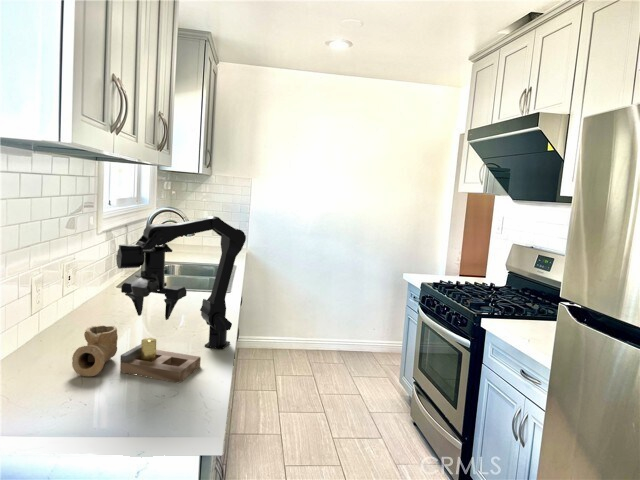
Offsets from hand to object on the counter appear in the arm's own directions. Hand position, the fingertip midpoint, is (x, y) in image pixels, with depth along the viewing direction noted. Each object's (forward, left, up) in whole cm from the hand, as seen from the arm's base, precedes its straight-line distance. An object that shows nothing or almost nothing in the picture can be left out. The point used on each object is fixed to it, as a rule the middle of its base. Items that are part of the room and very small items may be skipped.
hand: (153, 317), depth 142 cm
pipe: (+13, -9, -12) cm, 20 cm away
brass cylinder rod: (+8, +4, -12) cm, 15 cm away
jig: (+8, +8, -12) cm, 16 cm away
